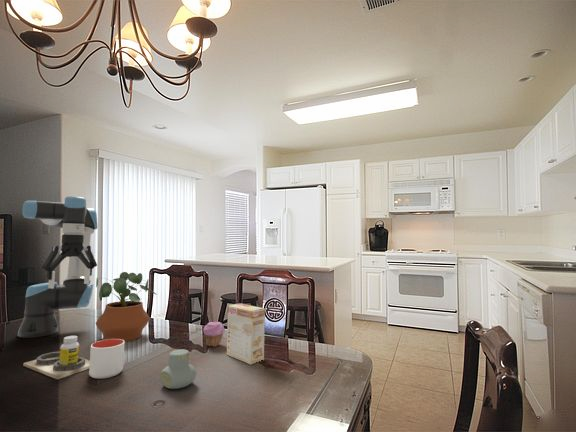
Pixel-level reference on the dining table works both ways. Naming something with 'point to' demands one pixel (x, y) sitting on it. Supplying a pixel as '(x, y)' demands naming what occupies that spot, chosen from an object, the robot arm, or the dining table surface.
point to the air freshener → (178, 370)
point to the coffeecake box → (246, 332)
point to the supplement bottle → (69, 351)
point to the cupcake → (213, 333)
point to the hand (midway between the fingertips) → (69, 286)
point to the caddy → (56, 365)
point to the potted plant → (123, 309)
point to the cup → (106, 358)
